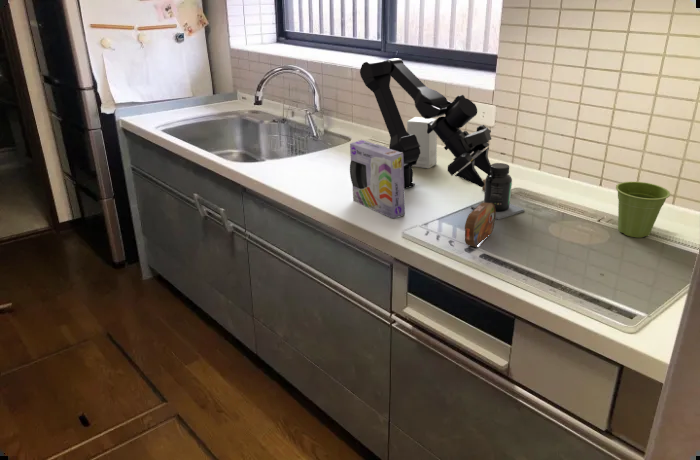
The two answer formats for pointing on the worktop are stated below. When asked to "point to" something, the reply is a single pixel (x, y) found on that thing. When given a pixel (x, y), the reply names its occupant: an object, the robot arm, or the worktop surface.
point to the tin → (480, 223)
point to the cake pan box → (378, 178)
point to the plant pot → (639, 207)
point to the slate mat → (509, 212)
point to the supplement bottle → (498, 187)
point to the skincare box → (424, 141)
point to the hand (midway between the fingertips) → (488, 180)
